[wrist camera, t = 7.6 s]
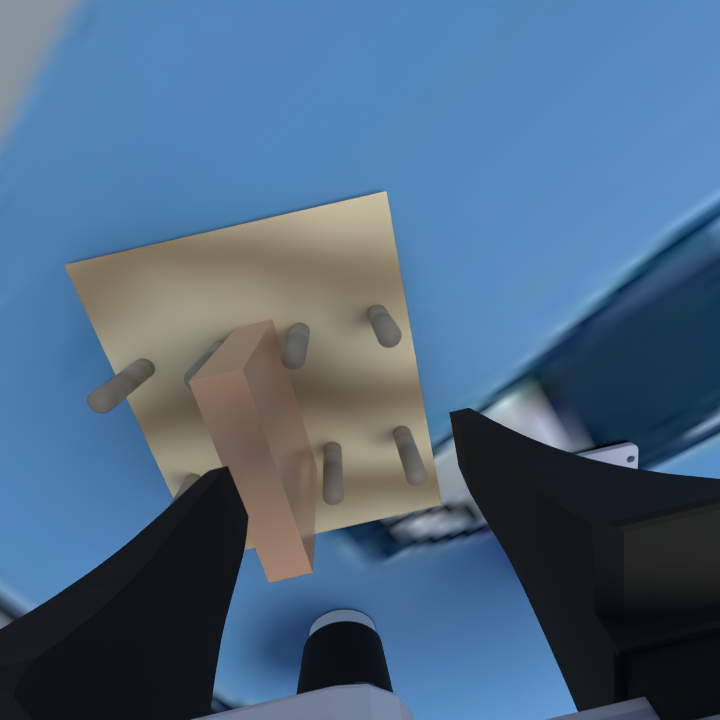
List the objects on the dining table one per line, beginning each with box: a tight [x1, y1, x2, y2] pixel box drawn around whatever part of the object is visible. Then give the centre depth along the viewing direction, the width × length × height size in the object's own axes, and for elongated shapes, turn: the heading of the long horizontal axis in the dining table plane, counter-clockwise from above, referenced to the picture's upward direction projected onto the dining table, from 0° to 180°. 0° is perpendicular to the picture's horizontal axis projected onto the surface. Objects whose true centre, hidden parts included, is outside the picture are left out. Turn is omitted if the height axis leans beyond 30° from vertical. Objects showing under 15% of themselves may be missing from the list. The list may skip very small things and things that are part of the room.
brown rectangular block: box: [189, 319, 318, 583], centre depth 17 cm, size 9×2×7 cm, turn 12°
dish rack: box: [64, 191, 441, 550], centre depth 19 cm, size 18×15×5 cm
